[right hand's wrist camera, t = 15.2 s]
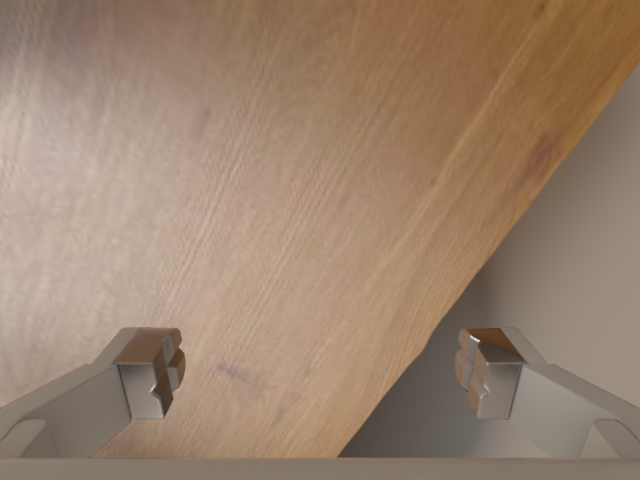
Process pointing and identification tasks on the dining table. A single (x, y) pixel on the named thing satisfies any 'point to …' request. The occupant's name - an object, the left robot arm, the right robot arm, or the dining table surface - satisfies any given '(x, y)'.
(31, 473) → the right robot arm
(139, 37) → the dining table surface
